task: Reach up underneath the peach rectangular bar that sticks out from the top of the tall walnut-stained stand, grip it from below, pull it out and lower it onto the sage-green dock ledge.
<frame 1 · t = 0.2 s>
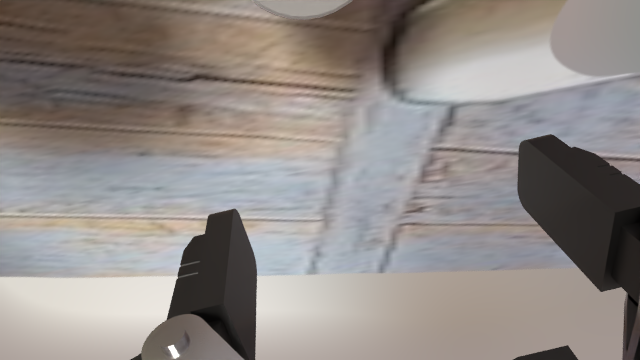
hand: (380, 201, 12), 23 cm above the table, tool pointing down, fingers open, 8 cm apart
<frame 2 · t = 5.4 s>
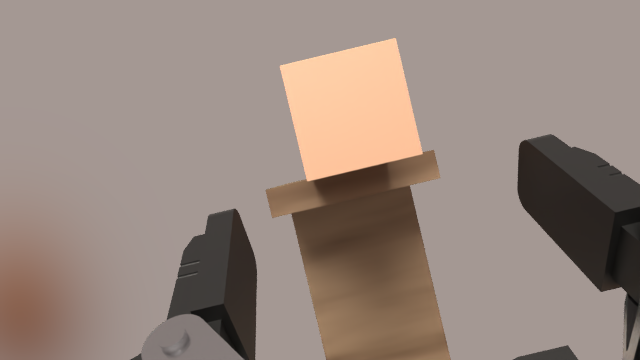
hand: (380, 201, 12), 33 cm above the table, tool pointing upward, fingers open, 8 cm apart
peach rectangular bar: (346, 170, 25), point 34 cm above the table, touching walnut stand
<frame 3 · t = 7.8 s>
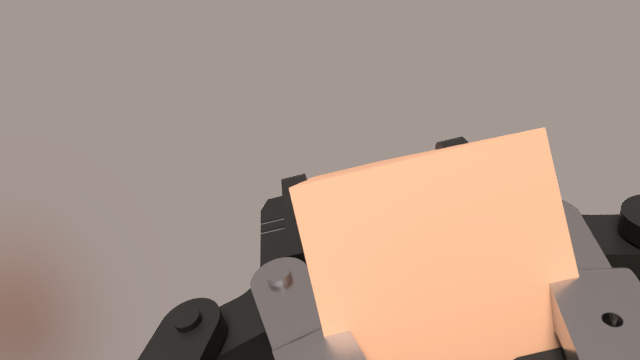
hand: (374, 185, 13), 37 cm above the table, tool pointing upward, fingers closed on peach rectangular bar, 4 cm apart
peach rectangular bar: (382, 265, 17), point 34 cm above the table, touching gripper, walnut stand
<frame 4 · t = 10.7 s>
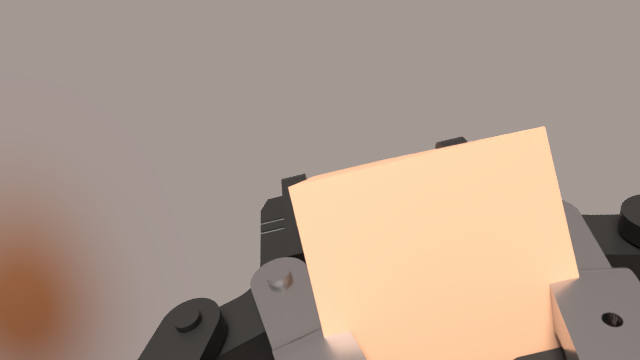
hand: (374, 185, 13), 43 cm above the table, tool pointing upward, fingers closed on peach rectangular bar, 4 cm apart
peach rectangular bar: (382, 265, 17), point 39 cm above the table, touching gripper
when the fingers open (27 cm above the table, at t = 13.8 s): peach rectangular bar drops 2 cm, resting on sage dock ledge.
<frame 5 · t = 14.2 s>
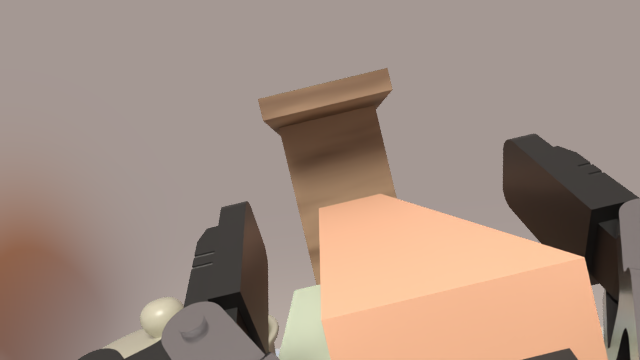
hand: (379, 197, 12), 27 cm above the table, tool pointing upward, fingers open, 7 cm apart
peach rectangular bar: (392, 317, 17), point 22 cm above the table, touching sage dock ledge
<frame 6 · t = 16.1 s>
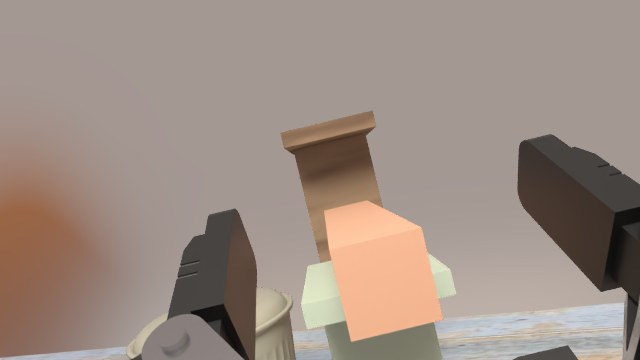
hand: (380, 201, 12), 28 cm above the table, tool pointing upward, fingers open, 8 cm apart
peach rectangular bar: (369, 274, 29), point 22 cm above the table, touching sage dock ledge
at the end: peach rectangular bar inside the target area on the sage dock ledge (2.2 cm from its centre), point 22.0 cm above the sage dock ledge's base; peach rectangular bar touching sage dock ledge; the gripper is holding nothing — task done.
